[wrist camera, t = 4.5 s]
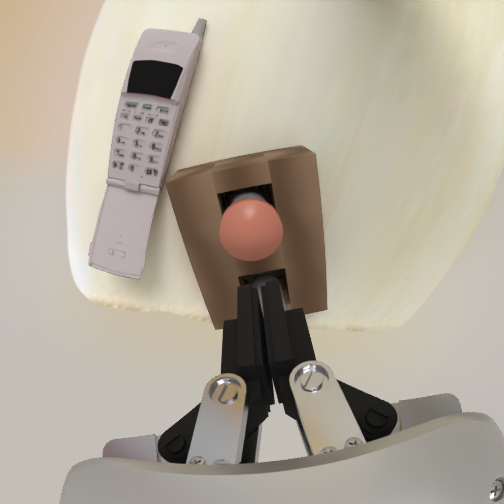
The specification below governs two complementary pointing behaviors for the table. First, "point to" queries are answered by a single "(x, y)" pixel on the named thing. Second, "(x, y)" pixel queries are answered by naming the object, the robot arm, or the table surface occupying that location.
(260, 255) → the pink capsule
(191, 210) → the block
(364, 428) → the robot arm
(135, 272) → the mobile phone
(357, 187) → the table surface
